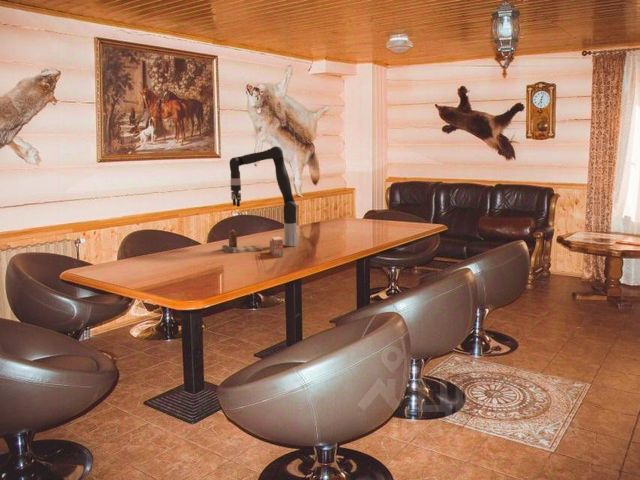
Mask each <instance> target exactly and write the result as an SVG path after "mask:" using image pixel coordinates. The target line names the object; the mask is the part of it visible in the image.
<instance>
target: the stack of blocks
mask: <svg viewBox="0 0 640 480" xmlns="http://www.w3.org/2000/svg"><path fill="white" fill-rule="evenodd" d="M283 248H284V239H283V238H282V237H281V236H271V238H270V239H269V251H270V254H271V255H272V257H273V258H283V257H284V249H283Z"/></svg>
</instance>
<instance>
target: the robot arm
mask: <svg viewBox="0 0 640 480" xmlns="http://www.w3.org/2000/svg"><path fill="white" fill-rule="evenodd" d="M265 160H273V165H274V167H275V178H276V183H277V186H278V189H279V191H280V193H281V195H282V198H283V199H282V200H283V204H284V206H283V224H284V225H283V232H284V233H283V234H284V235H283V237H284V239H283V246H285V247H296V246H298V245H299V244H298V243H299V242H298V241H299V240H298V232H297V203H296V201H295V198H294V196H293V191H292V190H293V189H292V184H291V181H290V180H291V179H290V177H289V176H290V175H289V174H288V170H287V166H286V165H285V159H284V151H283V150H282V148H281V147H280V146H277V145H276V146H275V145H274V146H272V147H270V148H269V149H265V150H262V151H258V152H253V153H248V154H244V155H240V156H234V157H232V158H230V160H229V169H230V191H231V192H230V193H231V195H230V198H231V201H232V206H235V207H237V208H238V207H239V208H240V206H241V204H240V202H241V201H242V195H241V194H242V193H241V192H240V191H242V186H241V185H242V184H241V183H242V181H241V170H240V167H241V166H245V165H251V164H254V163H258V162H261V161H265Z"/></svg>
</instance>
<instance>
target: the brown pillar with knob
mask: <svg viewBox="0 0 640 480" xmlns="http://www.w3.org/2000/svg"><path fill="white" fill-rule="evenodd" d="M237 233H238V232H237V231H235V229H231V230H230V231H228V246H229V247H231V248H232V247H238V237H237V235H238V234H237Z"/></svg>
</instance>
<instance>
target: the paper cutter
mask: <svg viewBox="0 0 640 480" xmlns="http://www.w3.org/2000/svg"><path fill="white" fill-rule="evenodd" d="M221 249H222V250H223V251H225V252H227V253H229V254H235V253H245V252H247V253H248V252H256V251H257V252H258V251H263V250H264V247H263V246H260V245H258V244H257V245H255V244H254V245H246V246H237V247H232V248H231V247H229V245H227V244H222V245H221Z"/></svg>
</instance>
